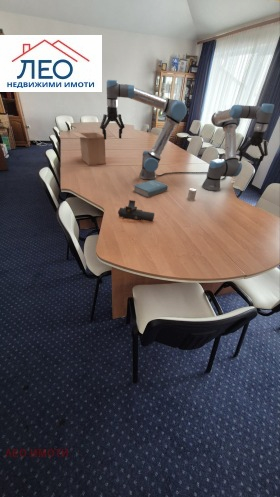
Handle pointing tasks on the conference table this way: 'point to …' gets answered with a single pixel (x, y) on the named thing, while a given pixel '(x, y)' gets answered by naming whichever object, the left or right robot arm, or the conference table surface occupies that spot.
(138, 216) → the laser sight
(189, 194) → the can
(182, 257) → the conference table surface
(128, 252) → the conference table surface
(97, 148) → the box
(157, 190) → the book
